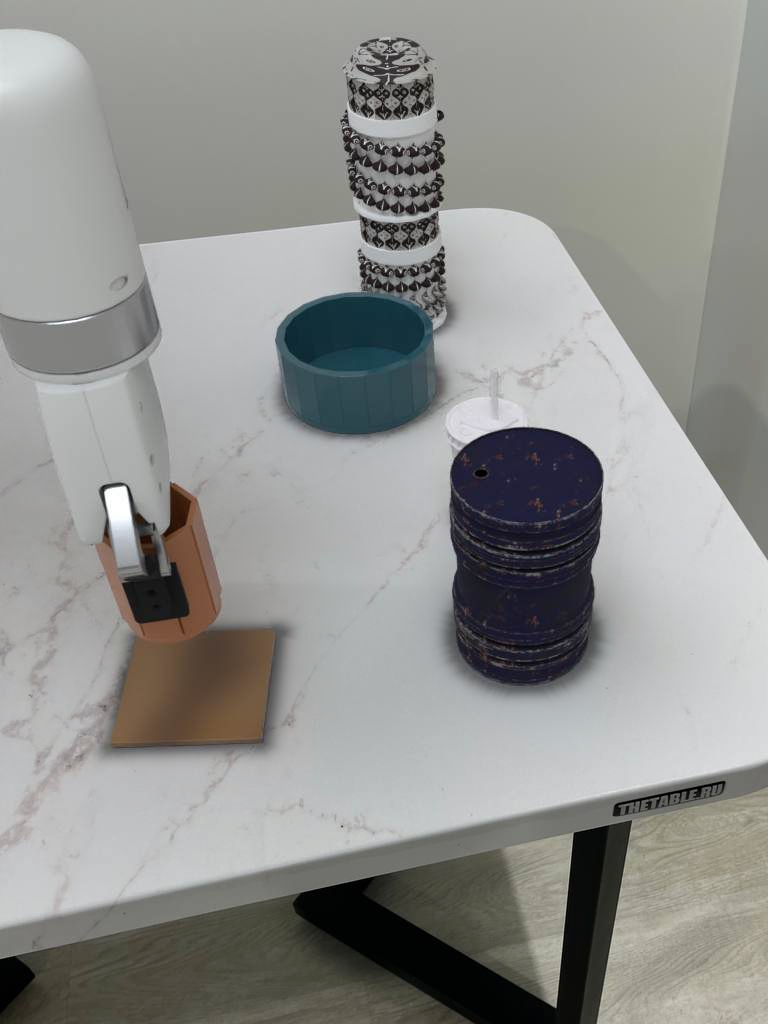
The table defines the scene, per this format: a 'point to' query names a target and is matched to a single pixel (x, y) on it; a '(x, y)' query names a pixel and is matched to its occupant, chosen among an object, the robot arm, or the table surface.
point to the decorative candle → (396, 171)
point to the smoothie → (482, 417)
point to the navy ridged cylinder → (524, 552)
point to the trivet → (196, 690)
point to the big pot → (357, 362)
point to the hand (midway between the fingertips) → (162, 575)
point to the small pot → (193, 565)
